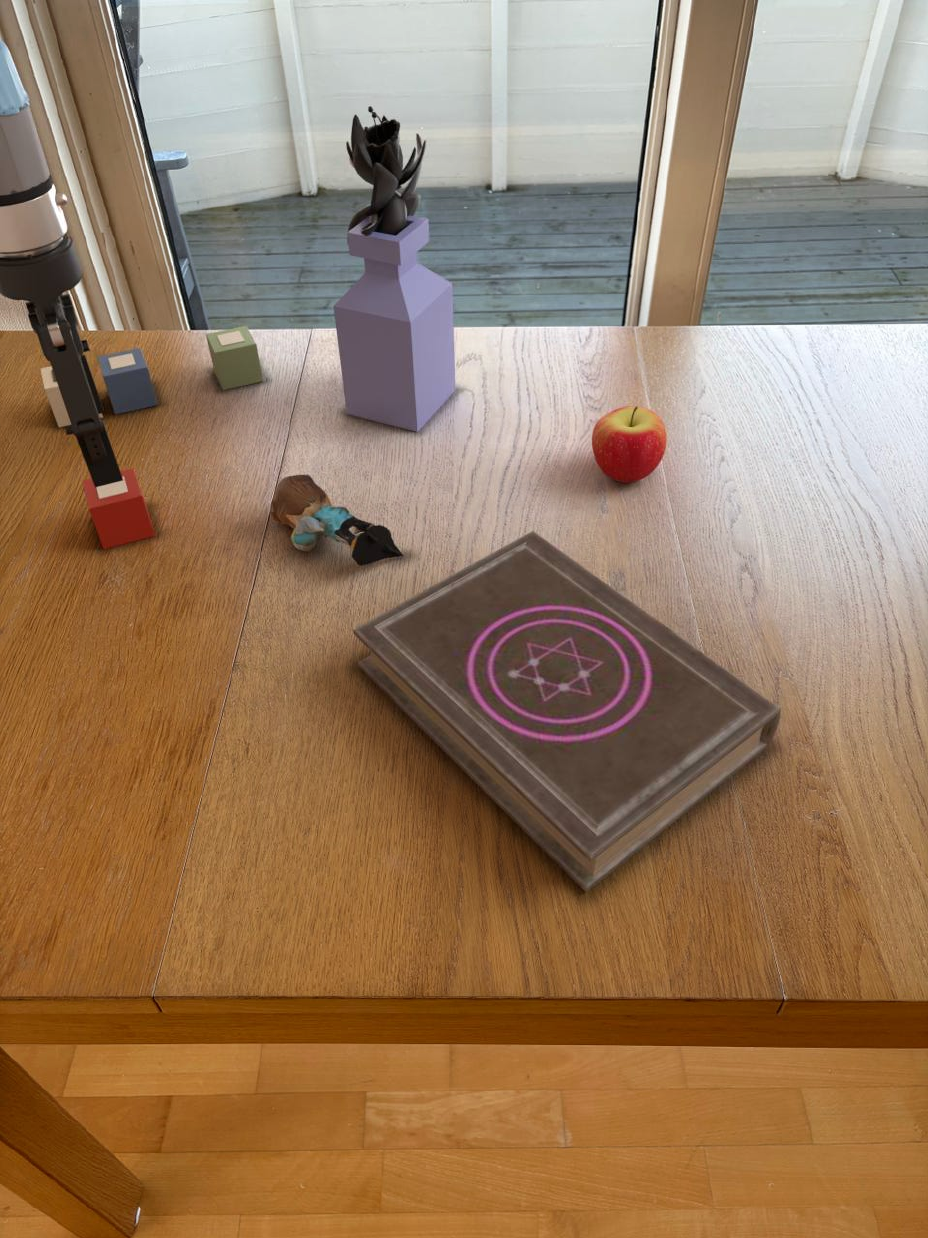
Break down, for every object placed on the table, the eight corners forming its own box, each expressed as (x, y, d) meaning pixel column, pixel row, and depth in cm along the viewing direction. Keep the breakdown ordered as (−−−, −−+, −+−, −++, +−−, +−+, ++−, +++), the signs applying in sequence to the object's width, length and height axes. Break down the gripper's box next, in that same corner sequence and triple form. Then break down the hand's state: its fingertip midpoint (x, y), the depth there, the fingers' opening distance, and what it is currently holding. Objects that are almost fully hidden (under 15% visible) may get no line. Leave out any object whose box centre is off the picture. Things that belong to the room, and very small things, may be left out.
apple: (594, 497, 107) (601, 421, 100) (584, 454, 113) (590, 379, 106) (667, 494, 107) (679, 418, 100) (653, 451, 113) (664, 376, 106)
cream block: (58, 427, 120) (44, 388, 116) (54, 406, 123) (39, 367, 120) (103, 417, 121) (90, 378, 117) (97, 396, 125) (84, 358, 121)
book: (358, 666, 89) (352, 629, 86) (535, 565, 99) (536, 527, 95) (586, 893, 72) (590, 857, 68) (772, 743, 82) (785, 705, 78)
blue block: (115, 414, 122) (102, 375, 118) (109, 394, 125) (96, 355, 121) (158, 405, 123) (147, 366, 119) (151, 384, 127) (140, 346, 123)
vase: (389, 361, 130) (365, 76, 105) (465, 379, 126) (458, 87, 101) (335, 414, 121) (294, 114, 96) (415, 434, 117) (394, 128, 92)
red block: (103, 549, 102) (88, 508, 98) (97, 520, 106) (81, 479, 102) (155, 536, 104) (141, 494, 100) (146, 507, 107) (133, 466, 104)
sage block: (222, 390, 125) (214, 351, 121) (214, 371, 129) (205, 333, 125) (263, 381, 127) (256, 342, 123) (253, 362, 130) (246, 324, 126)
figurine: (309, 499, 108) (301, 454, 104) (406, 557, 100) (402, 511, 96) (257, 530, 104) (247, 485, 100) (354, 593, 96) (347, 548, 92)
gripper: (87, 289, 75) (157, 503, 90) (56, 186, 92) (119, 381, 107) (-12, 309, 73) (76, 525, 88) (-26, 199, 90) (50, 396, 105)
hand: (99, 446), depth 97 cm, fingers open, 13 cm apart
